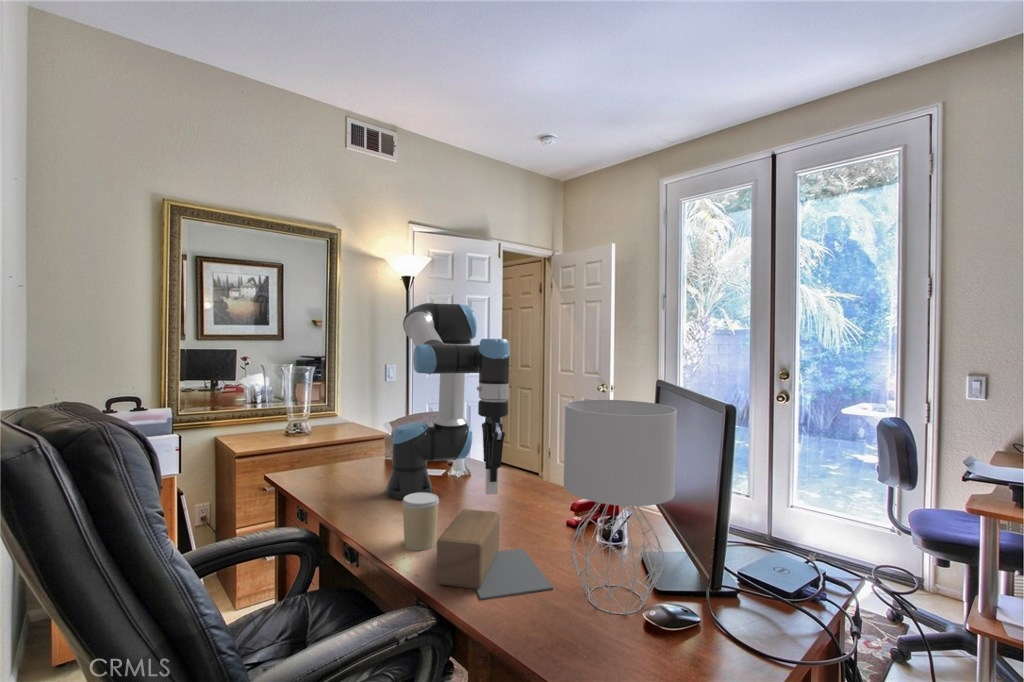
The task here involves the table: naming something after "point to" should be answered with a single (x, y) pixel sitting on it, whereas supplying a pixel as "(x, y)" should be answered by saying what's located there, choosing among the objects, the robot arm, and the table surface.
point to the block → (467, 548)
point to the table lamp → (619, 469)
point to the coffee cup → (420, 520)
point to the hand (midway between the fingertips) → (491, 493)
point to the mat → (512, 576)
